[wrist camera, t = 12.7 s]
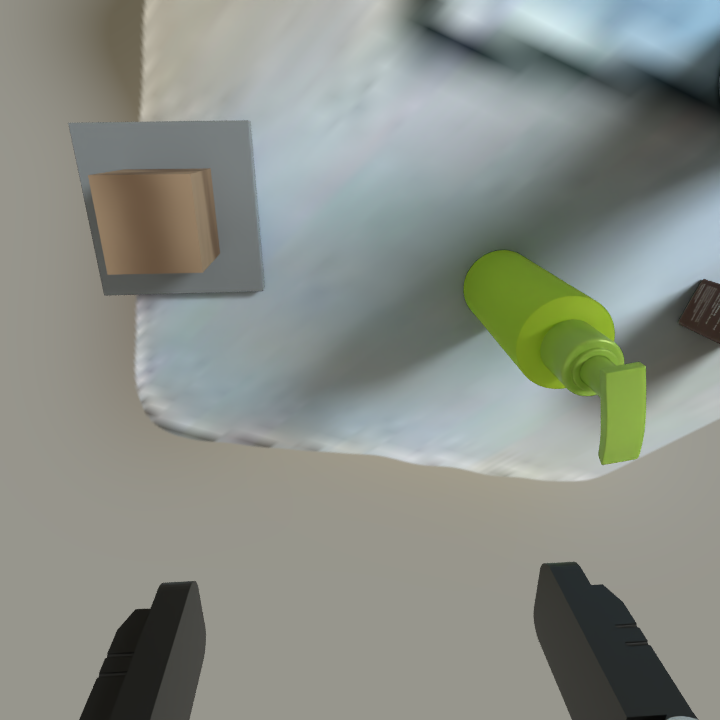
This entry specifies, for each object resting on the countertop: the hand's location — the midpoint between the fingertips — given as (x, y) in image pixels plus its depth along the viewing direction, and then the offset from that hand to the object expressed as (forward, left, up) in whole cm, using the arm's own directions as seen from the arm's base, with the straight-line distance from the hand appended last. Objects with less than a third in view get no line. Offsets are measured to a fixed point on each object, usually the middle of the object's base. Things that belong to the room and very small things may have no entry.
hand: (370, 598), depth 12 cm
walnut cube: (+12, -5, -31) cm, 33 cm away
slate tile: (+12, -5, -32) cm, 35 cm away
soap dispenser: (-13, +2, -32) cm, 35 cm away
